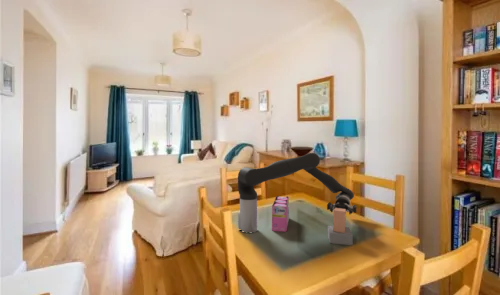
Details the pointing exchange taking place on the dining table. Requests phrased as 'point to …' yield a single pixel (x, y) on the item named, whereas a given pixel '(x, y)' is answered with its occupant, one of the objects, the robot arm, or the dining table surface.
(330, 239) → the grey base block
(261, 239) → the dining table surface
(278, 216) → the gum box
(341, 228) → the terracotta block
